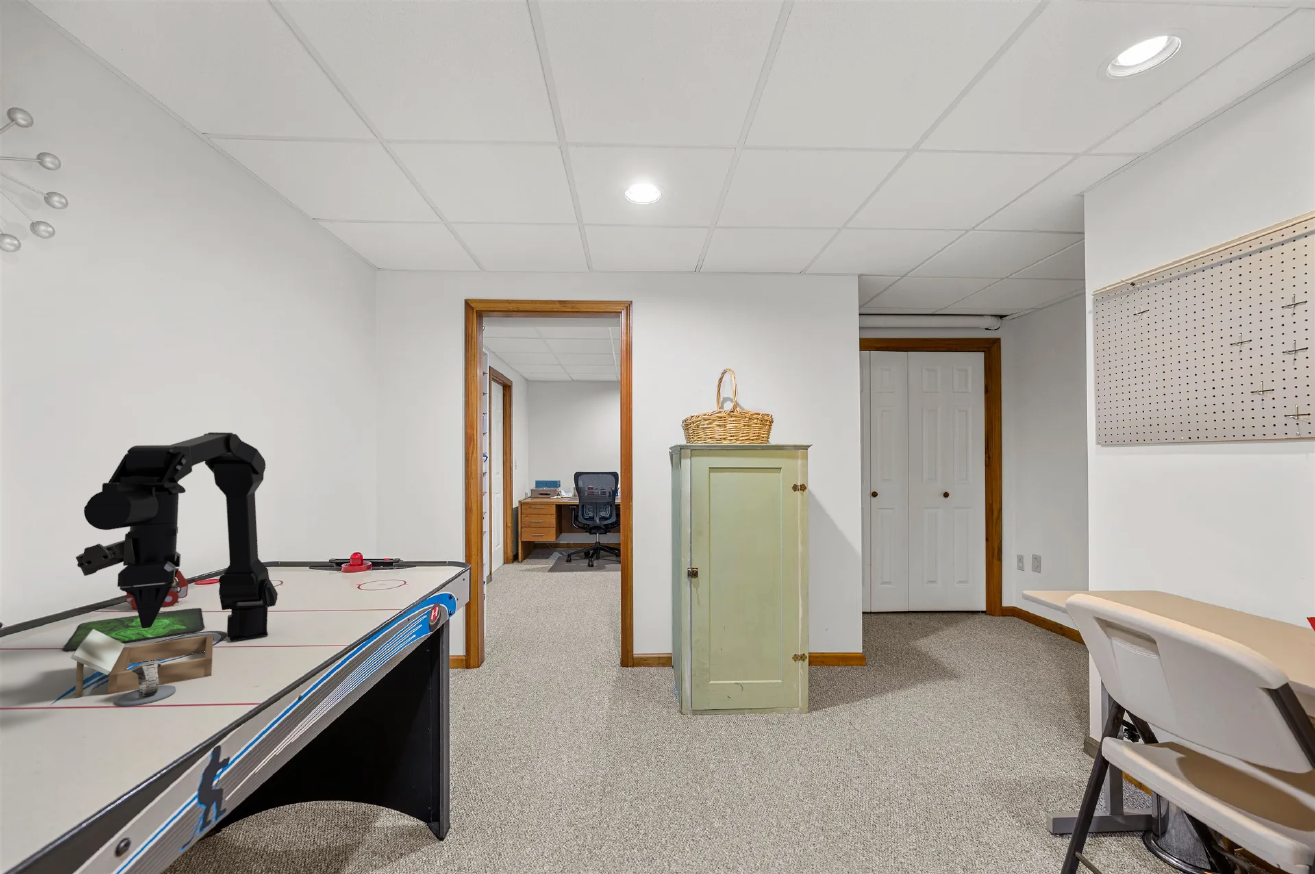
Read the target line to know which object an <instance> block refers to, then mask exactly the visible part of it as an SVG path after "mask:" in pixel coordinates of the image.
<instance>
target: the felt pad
mask: <svg viewBox="0 0 1315 874" xmlns="http://www.w3.org/2000/svg"><path fill="white" fill-rule="evenodd" d="M176 691H177V690H176V686H175V685H169V684H162V685H158V691H157V693H156V694H153V695H149V696H145V697H143V696H141V694H140V691H139V689H134V690H130V691H128V692H127V693H126V692H125V693H124V694H122V695H120V696H118V697H117V699H116V700H115V703H116V705H117V706H121V707H135V706H134V705H136V706H143V705H147V704H151V703H154V702H158V700H159V701H161V699H162V700H163V699H167V698H169V697H170V696H173V695H174V694H175V693H176ZM146 703H147V704H146Z"/></svg>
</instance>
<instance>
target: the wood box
mask: <svg viewBox="0 0 1315 874" xmlns="http://www.w3.org/2000/svg"><path fill="white" fill-rule="evenodd" d="M125 646H126V643H121V642H119V641H117V640H115V639H113V638H111V637H109V636H107V635H105V634H103V633H101V632H98V631H96V630H94V629H93V630H92V631H91V632H90V633H89V634H88V635H87V637H86V638H85V639H84V641H83V642H82V643H81V644H80V646H79V647H78V648H77V650H76V651H73V654H72V655H71V656H70V659H71V660H73V661H76V672H75V673H76V675H75V696H74V697H75V699H77V698H82V697H83V689H84V675H85V674H84V670H85V668H84V667H85V666H87V667H89V668H91V669H93V670H95V671H97V672H100V673H102V674H104V675H106V676H108V684H107V685H108V687H107V695H110V694H111V695H112V694H117V693H123V692H127V691H128V692H130V691H135V690H138V689H139V681H138V675H137V674H136V673H134V672H132V670H133V669H129V666H130V664H129V663H135V664H138V663H137V662H141V663H144V662H143V661H148V662H150V661H151V660H152V661H153V660H154V661H158V660H157V659H160V660H165V659H171V658H170V657H172V658H177V657H183V656H182V655H185V656H189V655H188V654H191V655H193V654H192V653H197V654H201V653H200V652H204V651H205V652H204V657H201V658H195V659H189V660H182V661H176V662H170V663H165V664H164V663H163V664H161V666H160V667H158V668H157V673H158V679H159V685H158V686H161V685H168V684H172V683H178V682H182V681H189V680H194V679H199V678H205V677H211V676H212V674H213V673H212V670H213V669H212V668H213V652H214V651H213V650H214V649H213V647H214V634H207V635H200V636H194V637H193V636H192V637H186V638H179V639H174V640H173V639H172V640H165V641H160V642H153V643H146V644H140V645H139V644H138V645H131V646H126V647H125ZM127 668H128V669H129V670H128V669H127Z"/></svg>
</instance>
